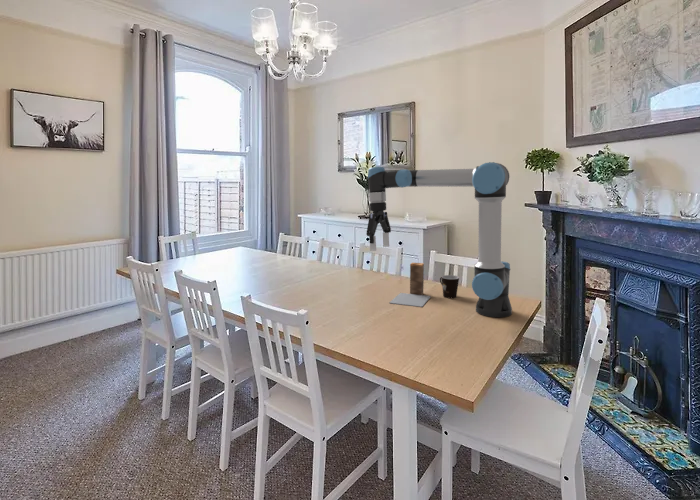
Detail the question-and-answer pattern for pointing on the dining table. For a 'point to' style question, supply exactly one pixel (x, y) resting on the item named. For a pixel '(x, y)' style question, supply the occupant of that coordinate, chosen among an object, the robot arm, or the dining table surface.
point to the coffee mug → (449, 285)
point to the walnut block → (416, 278)
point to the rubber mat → (410, 299)
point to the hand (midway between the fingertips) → (379, 248)
